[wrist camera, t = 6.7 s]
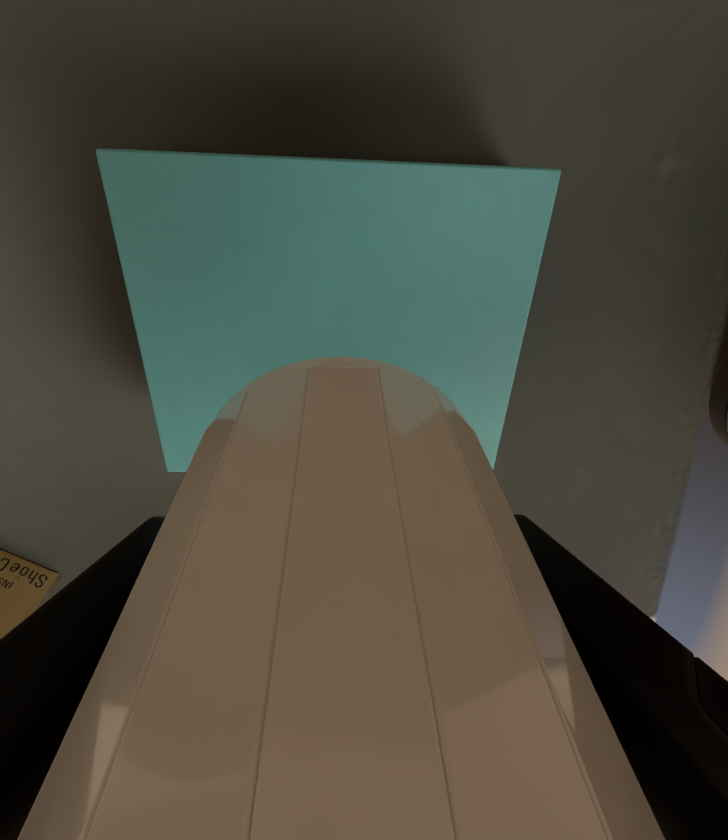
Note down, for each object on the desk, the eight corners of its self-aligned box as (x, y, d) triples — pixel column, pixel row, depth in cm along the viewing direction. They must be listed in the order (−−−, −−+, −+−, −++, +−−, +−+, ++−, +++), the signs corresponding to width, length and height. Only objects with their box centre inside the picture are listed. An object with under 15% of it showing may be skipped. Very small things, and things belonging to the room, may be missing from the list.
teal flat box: (522, 163, 16) (563, 169, 13) (472, 428, 21) (493, 473, 18) (139, 147, 15) (93, 148, 12) (190, 426, 20) (166, 472, 18)
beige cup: (502, 357, 9) (859, 829, 3) (457, 575, 12) (580, 1022, 6) (176, 352, 8) (-230, 883, 2) (218, 578, 11) (86, 1057, 5)
